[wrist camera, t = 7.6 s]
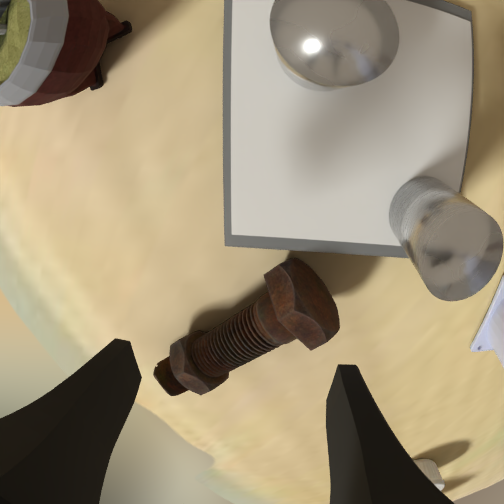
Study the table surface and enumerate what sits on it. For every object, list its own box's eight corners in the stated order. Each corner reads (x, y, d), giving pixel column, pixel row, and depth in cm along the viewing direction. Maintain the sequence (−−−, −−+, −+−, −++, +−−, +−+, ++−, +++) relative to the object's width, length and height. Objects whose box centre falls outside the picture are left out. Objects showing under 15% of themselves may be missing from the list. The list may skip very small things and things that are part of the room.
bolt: (173, 343, 27) (307, 253, 21) (202, 390, 26) (347, 316, 20) (127, 364, 22) (273, 263, 16) (160, 419, 21) (326, 348, 15)
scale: (452, -14, 10) (480, -29, 7) (431, 245, 18) (453, 274, 15) (233, -46, 11) (220, -73, 8) (230, 231, 19) (219, 260, 16)
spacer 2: (460, 182, 13) (513, 217, 9) (444, 249, 15) (484, 301, 11) (395, 170, 14) (437, 204, 9) (382, 244, 16) (411, 300, 11)
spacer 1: (363, 18, 10) (396, -16, 6) (362, 96, 12) (398, 95, 8) (276, 9, 11) (270, -32, 6) (275, 88, 13) (268, 81, 8)
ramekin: (357, 476, 35) (359, 505, 31) (425, 448, 31) (431, 480, 26) (389, 486, 38) (392, 511, 33) (447, 461, 33) (453, 487, 29)
